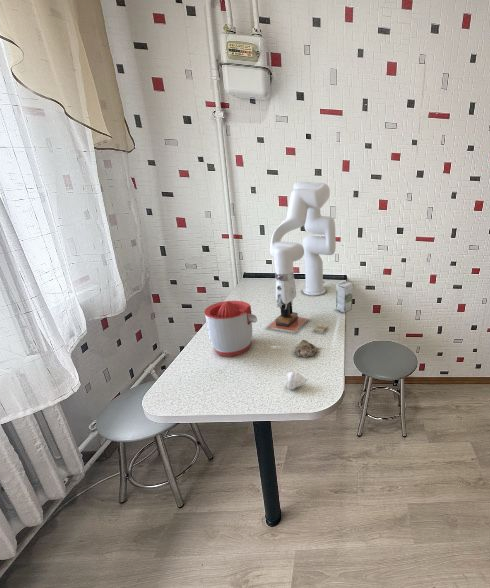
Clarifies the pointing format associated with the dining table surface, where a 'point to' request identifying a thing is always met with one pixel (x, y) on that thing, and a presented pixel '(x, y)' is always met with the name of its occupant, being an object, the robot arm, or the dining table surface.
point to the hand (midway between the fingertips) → (286, 314)
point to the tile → (291, 327)
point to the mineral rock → (306, 349)
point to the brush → (287, 318)
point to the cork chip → (320, 328)
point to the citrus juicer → (230, 327)
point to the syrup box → (344, 296)
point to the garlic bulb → (295, 380)
